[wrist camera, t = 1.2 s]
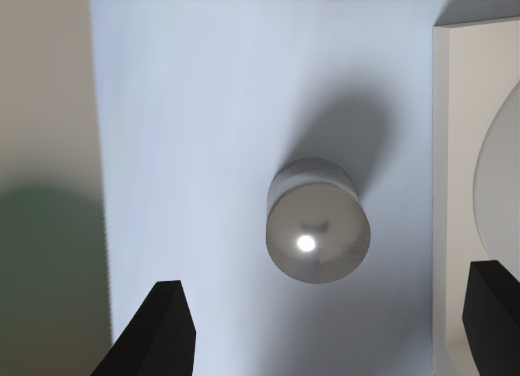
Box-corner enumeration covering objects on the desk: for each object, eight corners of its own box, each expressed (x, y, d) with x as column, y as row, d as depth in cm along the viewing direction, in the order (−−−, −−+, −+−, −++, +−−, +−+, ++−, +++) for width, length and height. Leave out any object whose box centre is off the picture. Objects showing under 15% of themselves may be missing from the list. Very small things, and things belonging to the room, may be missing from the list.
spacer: (356, 235, 23) (372, 278, 19) (272, 242, 23) (271, 287, 20) (352, 153, 22) (368, 183, 18) (262, 163, 22) (260, 194, 18)
